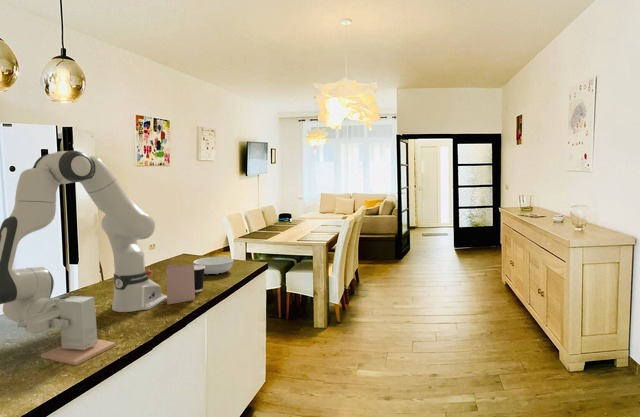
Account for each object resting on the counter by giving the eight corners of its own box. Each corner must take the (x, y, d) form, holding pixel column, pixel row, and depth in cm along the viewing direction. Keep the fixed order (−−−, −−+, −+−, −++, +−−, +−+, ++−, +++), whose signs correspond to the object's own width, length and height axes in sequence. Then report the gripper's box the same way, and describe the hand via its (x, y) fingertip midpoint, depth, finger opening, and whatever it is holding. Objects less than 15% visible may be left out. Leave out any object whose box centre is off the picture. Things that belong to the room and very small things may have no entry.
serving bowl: (239, 269, 232) (239, 257, 231) (222, 279, 211) (222, 265, 211) (205, 267, 236) (205, 255, 236) (186, 276, 216) (185, 263, 215)
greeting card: (195, 299, 178) (194, 264, 177) (189, 304, 171) (188, 269, 169) (169, 298, 178) (168, 264, 177) (162, 304, 171) (161, 268, 170)
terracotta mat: (82, 339, 136) (82, 336, 136) (115, 345, 131) (115, 342, 131) (41, 357, 123) (41, 354, 123) (76, 365, 118) (76, 361, 118)
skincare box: (97, 343, 129) (97, 296, 128) (82, 351, 123) (81, 302, 122) (75, 340, 130) (74, 294, 129) (59, 348, 125) (57, 299, 124)
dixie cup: (209, 290, 191) (208, 267, 190) (193, 294, 185) (192, 270, 184) (200, 287, 196) (199, 264, 195) (184, 290, 191) (184, 267, 190)
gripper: (12, 314, 120) (46, 320, 116) (75, 294, 139) (107, 298, 135) (14, 335, 121) (48, 342, 116) (76, 312, 140) (107, 317, 135)
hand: (80, 318), depth 126 cm, fingers closed on skincare box, 6 cm apart
